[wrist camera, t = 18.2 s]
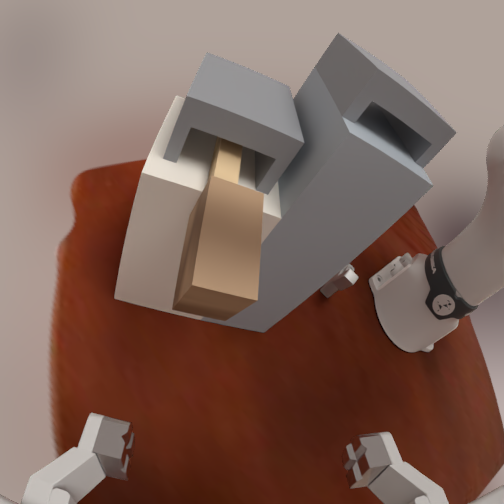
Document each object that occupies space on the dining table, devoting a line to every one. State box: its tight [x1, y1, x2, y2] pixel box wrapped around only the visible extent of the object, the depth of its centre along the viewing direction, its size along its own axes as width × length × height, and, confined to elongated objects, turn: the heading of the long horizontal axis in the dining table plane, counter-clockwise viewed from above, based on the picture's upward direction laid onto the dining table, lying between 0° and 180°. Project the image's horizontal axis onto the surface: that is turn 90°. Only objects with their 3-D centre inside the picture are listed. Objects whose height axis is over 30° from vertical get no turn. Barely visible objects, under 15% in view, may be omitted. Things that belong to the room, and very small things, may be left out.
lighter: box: [320, 264, 359, 298], centre depth 44 cm, size 7×2×8 cm, turn 142°
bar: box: [172, 136, 264, 321], centre depth 19 cm, size 17×3×4 cm, turn 0°
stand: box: [114, 33, 456, 333], centre depth 28 cm, size 12×18×30 cm, turn 90°
